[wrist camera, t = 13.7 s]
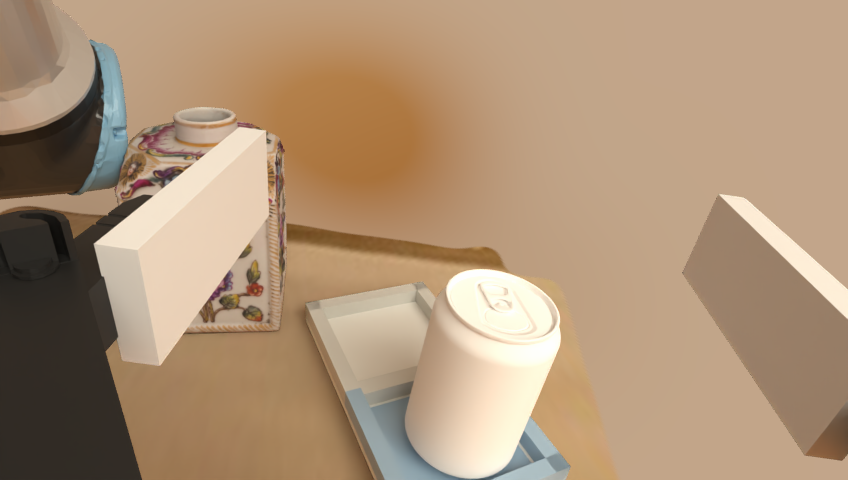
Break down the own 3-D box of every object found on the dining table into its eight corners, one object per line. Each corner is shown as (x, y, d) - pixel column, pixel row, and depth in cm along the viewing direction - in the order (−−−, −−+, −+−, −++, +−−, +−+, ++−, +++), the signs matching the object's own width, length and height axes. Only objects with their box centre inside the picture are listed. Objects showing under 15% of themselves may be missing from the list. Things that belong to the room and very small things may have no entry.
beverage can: (408, 484, 32) (449, 341, 27) (398, 389, 39) (429, 259, 34) (526, 486, 34) (589, 351, 28) (497, 394, 41) (543, 271, 35)
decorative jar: (281, 335, 45) (275, 141, 37) (138, 338, 43) (96, 132, 34) (288, 263, 55) (285, 98, 47) (173, 263, 53) (147, 89, 44)
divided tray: (305, 320, 47) (305, 302, 47) (420, 297, 53) (422, 281, 52) (405, 553, 30) (409, 534, 29) (563, 485, 35) (570, 466, 34)
